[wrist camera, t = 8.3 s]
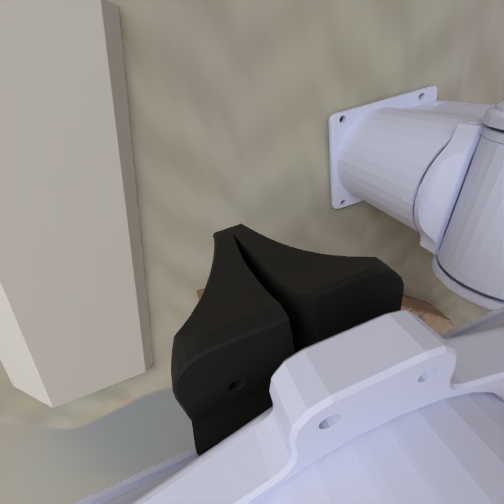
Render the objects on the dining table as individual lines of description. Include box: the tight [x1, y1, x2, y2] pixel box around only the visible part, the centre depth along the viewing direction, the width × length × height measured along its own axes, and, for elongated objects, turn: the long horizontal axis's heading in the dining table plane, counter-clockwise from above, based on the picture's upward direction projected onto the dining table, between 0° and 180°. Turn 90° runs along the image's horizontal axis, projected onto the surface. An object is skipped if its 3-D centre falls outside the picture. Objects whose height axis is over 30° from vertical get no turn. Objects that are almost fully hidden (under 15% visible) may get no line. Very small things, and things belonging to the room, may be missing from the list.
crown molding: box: [0, 0, 153, 408], centre depth 19 cm, size 29×12×4 cm, turn 174°
